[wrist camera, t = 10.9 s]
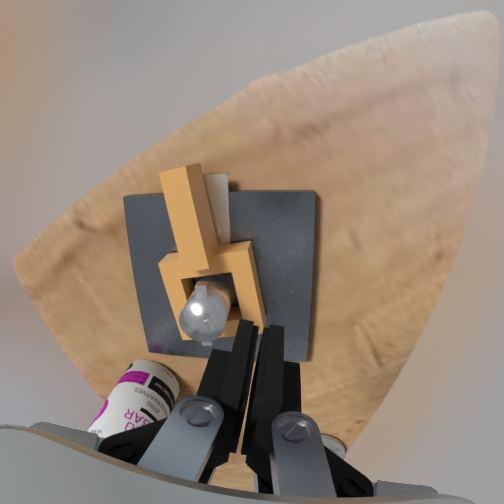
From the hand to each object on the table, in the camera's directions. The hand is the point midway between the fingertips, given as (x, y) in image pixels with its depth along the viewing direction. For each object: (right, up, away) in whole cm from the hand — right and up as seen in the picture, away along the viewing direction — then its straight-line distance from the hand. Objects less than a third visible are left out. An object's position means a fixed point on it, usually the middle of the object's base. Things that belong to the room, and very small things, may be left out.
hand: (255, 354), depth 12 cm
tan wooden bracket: (-5, +4, +21) cm, 22 cm away
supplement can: (-14, -14, +30) cm, 36 cm away
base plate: (-4, +1, +24) cm, 24 cm away
